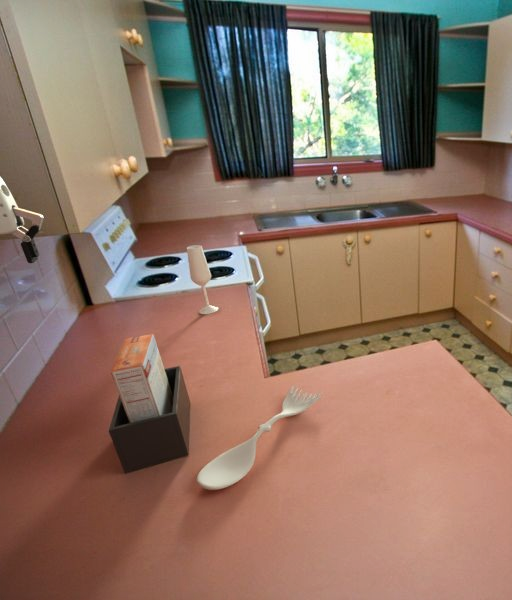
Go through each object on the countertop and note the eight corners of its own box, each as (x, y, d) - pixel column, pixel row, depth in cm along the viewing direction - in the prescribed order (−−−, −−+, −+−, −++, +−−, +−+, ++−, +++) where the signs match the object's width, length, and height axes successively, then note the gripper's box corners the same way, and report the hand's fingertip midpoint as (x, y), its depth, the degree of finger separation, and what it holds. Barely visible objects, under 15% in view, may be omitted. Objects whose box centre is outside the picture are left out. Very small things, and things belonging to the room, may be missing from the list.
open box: (124, 473, 84) (108, 430, 80) (137, 415, 101) (124, 377, 97) (188, 455, 88) (176, 413, 84) (190, 402, 105) (180, 365, 101)
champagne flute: (194, 311, 155) (179, 248, 146) (211, 305, 160) (197, 243, 151) (206, 315, 152) (190, 251, 142) (222, 308, 157) (208, 245, 147)
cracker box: (149, 416, 99) (123, 337, 91) (178, 409, 101) (155, 332, 93) (139, 457, 87) (108, 370, 79) (171, 448, 89) (144, 363, 81)
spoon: (324, 402, 103) (323, 391, 102) (224, 504, 77) (220, 489, 76) (294, 394, 107) (292, 382, 106) (189, 488, 81) (184, 474, 79)
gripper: (30, 164, 78) (62, 253, 85) (-94, 171, 72) (-49, 266, 79) (15, 167, 72) (51, 263, 79) (-123, 176, 66) (-71, 279, 73)
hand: (1, 265), depth 79 cm, fingers open, 9 cm apart
